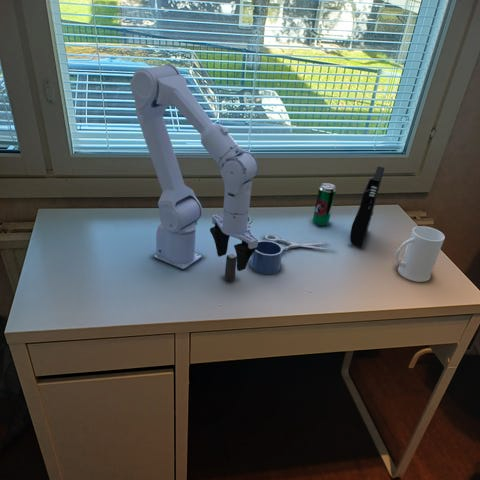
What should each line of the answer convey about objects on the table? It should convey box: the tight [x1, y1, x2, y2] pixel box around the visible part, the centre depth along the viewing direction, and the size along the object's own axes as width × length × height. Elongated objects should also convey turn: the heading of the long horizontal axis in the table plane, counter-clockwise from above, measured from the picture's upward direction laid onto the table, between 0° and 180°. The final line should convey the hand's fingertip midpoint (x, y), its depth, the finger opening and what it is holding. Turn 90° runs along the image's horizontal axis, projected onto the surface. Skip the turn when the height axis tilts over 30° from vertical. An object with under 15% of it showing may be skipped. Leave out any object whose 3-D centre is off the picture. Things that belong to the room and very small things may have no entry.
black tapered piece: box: [349, 166, 385, 248], centre depth 134 cm, size 12×5×20 cm, turn 160°
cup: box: [250, 240, 284, 275], centre depth 121 cm, size 8×8×6 cm
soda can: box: [312, 182, 337, 227], centre depth 142 cm, size 5×5×12 cm
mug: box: [395, 225, 446, 283], centre depth 123 cm, size 12×8×12 cm
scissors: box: [264, 234, 332, 252], centre depth 132 cm, size 11×1×20 cm
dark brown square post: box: [224, 253, 237, 282], centre depth 114 cm, size 2×2×6 cm
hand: (231, 262), depth 113 cm, fingers open, 7 cm apart
